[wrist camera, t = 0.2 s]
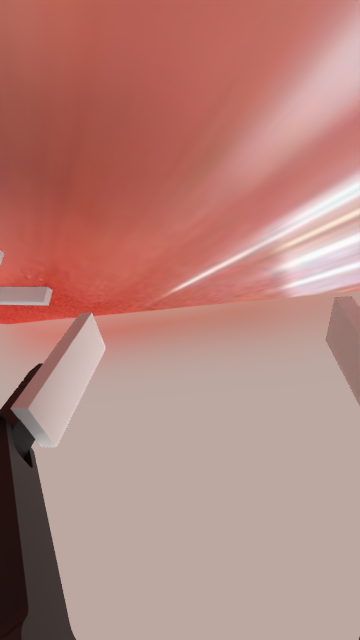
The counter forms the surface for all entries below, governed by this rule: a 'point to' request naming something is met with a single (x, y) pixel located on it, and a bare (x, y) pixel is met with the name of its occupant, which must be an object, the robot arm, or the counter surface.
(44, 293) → the stacked grey blocks
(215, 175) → the counter surface
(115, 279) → the counter surface
